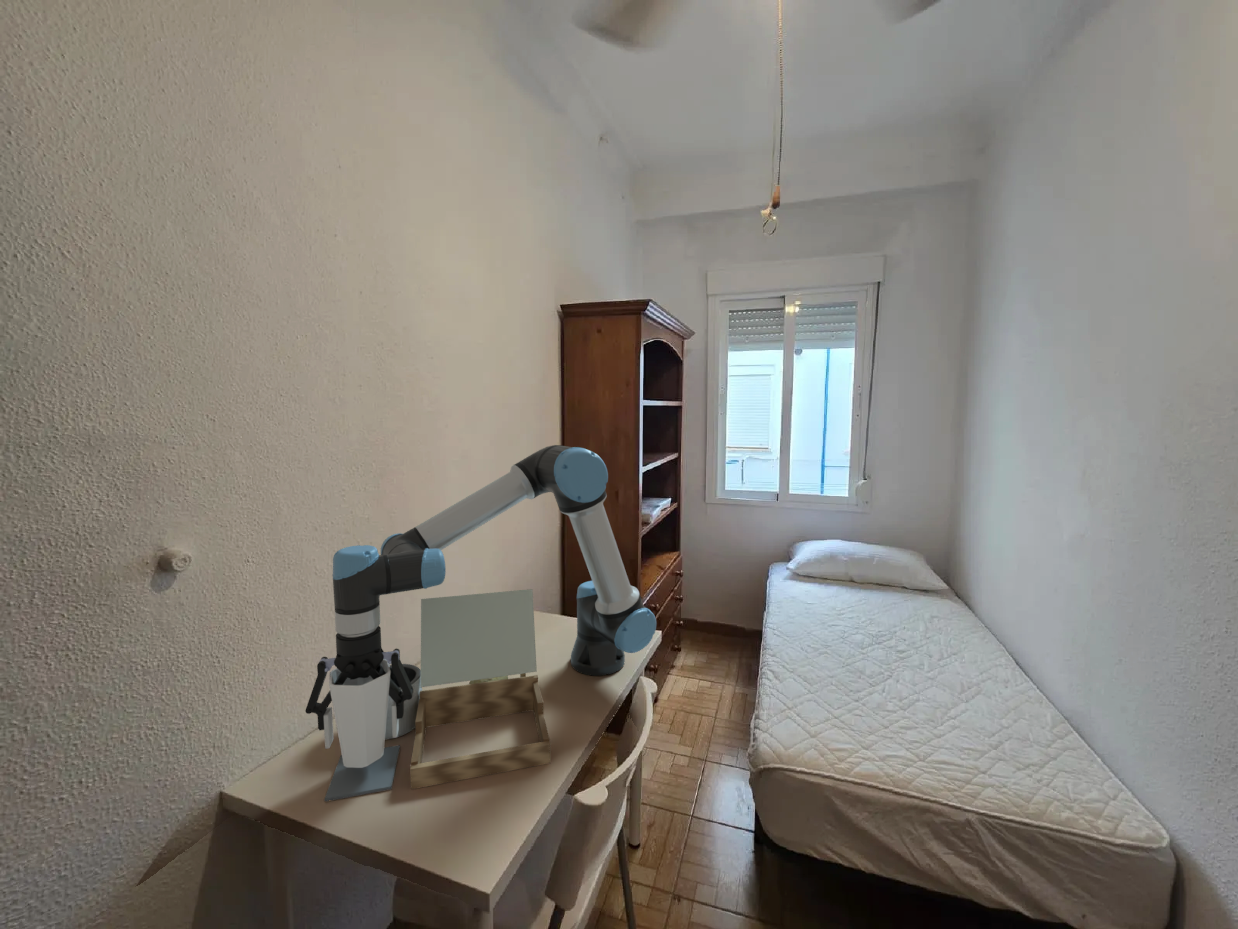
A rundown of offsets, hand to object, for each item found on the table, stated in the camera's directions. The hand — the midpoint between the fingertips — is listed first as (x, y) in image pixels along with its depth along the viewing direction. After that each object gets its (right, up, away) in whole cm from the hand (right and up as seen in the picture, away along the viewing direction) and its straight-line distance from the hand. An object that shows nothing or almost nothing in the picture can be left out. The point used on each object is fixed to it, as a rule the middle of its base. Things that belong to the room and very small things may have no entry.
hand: (363, 738), depth 97 cm
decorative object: (+17, -5, +27) cm, 32 cm away
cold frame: (+20, -6, +12) cm, 24 cm away
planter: (-1, -6, +16) cm, 17 cm away
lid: (+17, +13, +21) cm, 29 cm away
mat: (0, -7, +1) cm, 7 cm away
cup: (0, -4, 0) cm, 4 cm away
